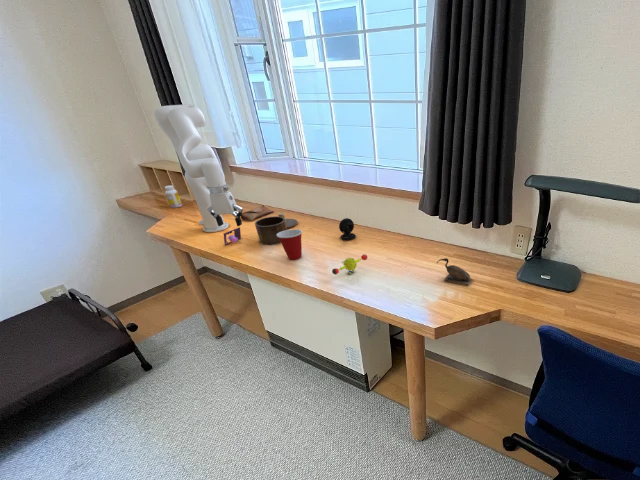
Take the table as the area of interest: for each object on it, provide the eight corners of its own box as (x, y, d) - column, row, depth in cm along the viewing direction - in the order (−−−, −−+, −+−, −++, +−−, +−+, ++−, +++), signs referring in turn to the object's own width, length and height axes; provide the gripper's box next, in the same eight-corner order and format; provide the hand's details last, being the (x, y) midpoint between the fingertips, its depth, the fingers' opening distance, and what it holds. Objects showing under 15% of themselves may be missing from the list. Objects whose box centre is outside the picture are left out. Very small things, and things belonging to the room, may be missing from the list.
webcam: (345, 242, 175) (342, 222, 170) (337, 237, 180) (334, 218, 175) (358, 237, 179) (356, 218, 174) (351, 233, 184) (348, 214, 179)
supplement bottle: (181, 204, 235) (173, 184, 228) (183, 206, 231) (175, 186, 224) (170, 206, 232) (161, 186, 225) (171, 208, 227) (163, 188, 220)
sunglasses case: (252, 221, 202) (244, 210, 201) (246, 225, 207) (238, 215, 205) (275, 211, 216) (268, 201, 214) (269, 215, 220) (262, 206, 218)
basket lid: (266, 231, 190) (263, 219, 186) (272, 221, 202) (269, 210, 199) (295, 229, 191) (292, 217, 188) (299, 219, 204) (297, 208, 200)
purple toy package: (238, 226, 178) (222, 232, 172) (246, 231, 177) (230, 237, 171) (239, 237, 183) (223, 244, 176) (246, 242, 182) (231, 249, 175)
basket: (257, 246, 174) (251, 227, 169) (263, 235, 186) (258, 217, 180) (286, 243, 175) (281, 225, 170) (291, 233, 187) (286, 215, 182)
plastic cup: (306, 250, 168) (300, 226, 162) (308, 259, 160) (303, 234, 153) (281, 254, 165) (275, 229, 159) (283, 264, 157) (276, 238, 150)
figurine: (434, 279, 142) (434, 259, 137) (438, 274, 145) (438, 254, 141) (468, 285, 137) (469, 265, 132) (472, 280, 140) (473, 260, 135)
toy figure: (362, 263, 155) (360, 248, 152) (371, 266, 152) (370, 252, 149) (329, 279, 144) (326, 264, 140) (338, 283, 141) (336, 268, 137)
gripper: (240, 187, 166) (251, 222, 175) (206, 187, 168) (218, 222, 178) (231, 191, 160) (242, 228, 169) (195, 191, 162) (209, 228, 171)
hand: (230, 225), depth 173 cm, fingers open, 9 cm apart
